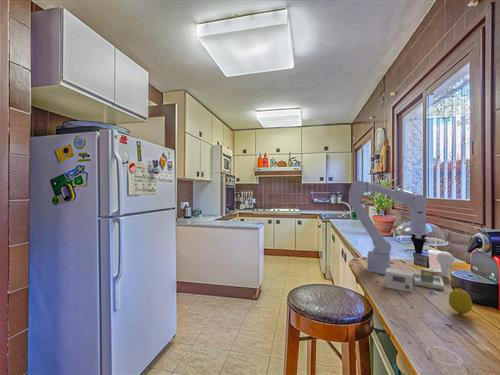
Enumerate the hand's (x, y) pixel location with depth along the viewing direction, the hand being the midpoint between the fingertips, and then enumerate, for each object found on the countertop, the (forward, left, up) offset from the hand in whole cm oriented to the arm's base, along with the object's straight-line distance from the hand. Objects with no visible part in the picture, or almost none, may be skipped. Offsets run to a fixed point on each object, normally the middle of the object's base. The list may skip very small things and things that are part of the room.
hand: (418, 251), depth 111 cm
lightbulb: (+10, +4, -11) cm, 15 cm away
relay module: (+3, -9, -10) cm, 14 cm away
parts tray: (+3, -9, -10) cm, 14 cm away
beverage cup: (+7, +12, -11) cm, 17 cm away
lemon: (+11, -34, -11) cm, 37 cm away
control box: (-6, -20, -10) cm, 24 cm away
